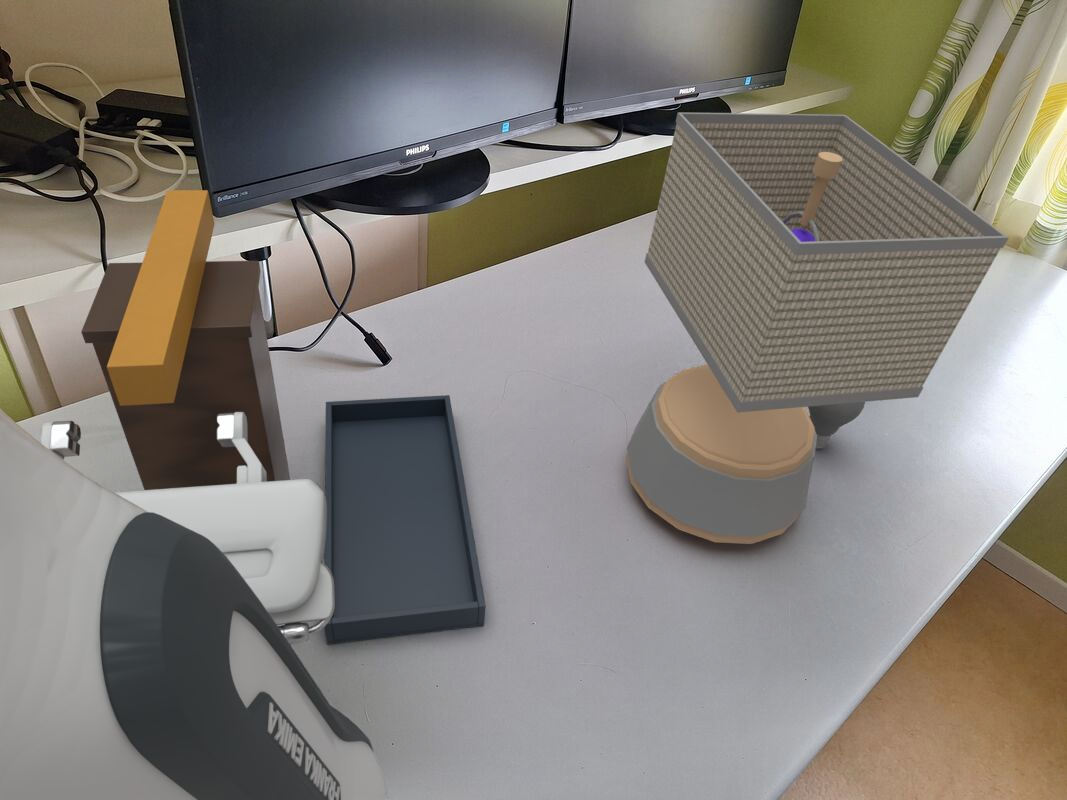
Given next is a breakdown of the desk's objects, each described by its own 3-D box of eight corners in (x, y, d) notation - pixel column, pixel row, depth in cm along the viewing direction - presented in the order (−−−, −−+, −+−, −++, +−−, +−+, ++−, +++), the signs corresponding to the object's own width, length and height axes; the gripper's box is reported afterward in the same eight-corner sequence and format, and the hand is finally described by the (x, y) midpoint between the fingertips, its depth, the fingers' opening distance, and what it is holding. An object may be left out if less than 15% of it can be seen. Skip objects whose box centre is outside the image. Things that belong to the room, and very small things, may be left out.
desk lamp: (839, 556, 76) (1033, 224, 52) (661, 581, 71) (783, 231, 47) (747, 411, 91) (863, 104, 67) (596, 423, 87) (663, 101, 63)
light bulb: (796, 460, 86) (827, 393, 79) (781, 424, 90) (810, 358, 84) (847, 463, 86) (882, 396, 80) (830, 427, 91) (862, 361, 84)
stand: (167, 569, 67) (80, 331, 50) (181, 496, 73) (108, 262, 56) (292, 557, 69) (250, 326, 52) (295, 487, 76) (258, 260, 59)
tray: (326, 644, 63) (323, 624, 61) (328, 422, 83) (325, 401, 81) (483, 626, 66) (485, 606, 64) (448, 414, 86) (449, 394, 84)
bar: (119, 406, 45) (106, 366, 43) (175, 224, 61) (167, 190, 59) (174, 403, 46) (163, 364, 44) (214, 224, 62) (207, 190, 60)
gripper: (332, 637, 41) (324, 393, 45) (-109, 687, 36) (-72, 412, 41) (339, 640, 47) (331, 424, 51) (-40, 683, 42) (-15, 443, 46)
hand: (149, 419), depth 46 cm, fingers open, 8 cm apart
